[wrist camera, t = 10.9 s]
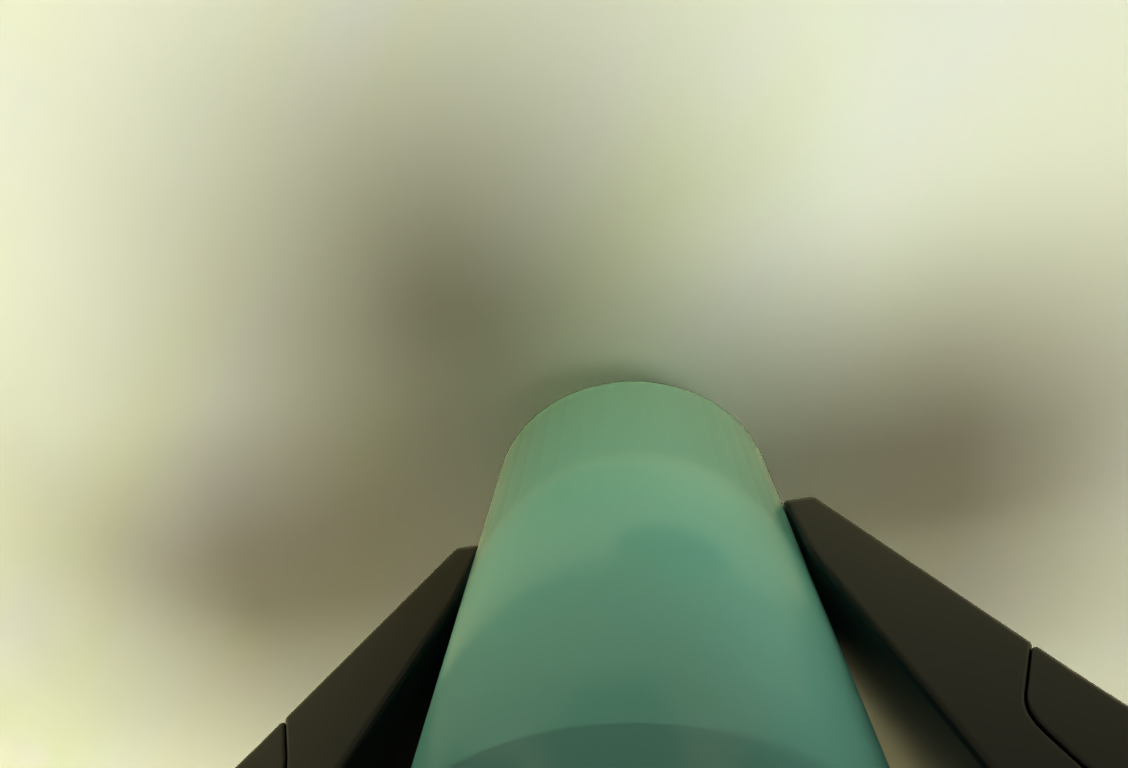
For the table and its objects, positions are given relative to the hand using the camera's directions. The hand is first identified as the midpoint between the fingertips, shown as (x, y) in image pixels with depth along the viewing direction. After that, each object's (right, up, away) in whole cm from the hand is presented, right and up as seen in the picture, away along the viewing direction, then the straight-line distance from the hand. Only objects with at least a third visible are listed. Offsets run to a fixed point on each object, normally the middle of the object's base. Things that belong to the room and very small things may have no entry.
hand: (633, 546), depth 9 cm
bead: (0, 0, +1) cm, 1 cm away
